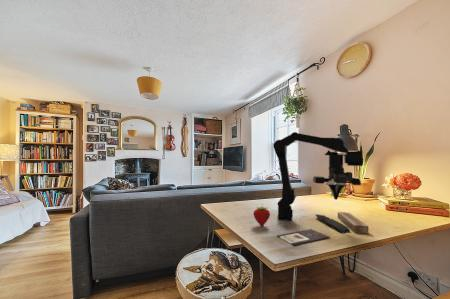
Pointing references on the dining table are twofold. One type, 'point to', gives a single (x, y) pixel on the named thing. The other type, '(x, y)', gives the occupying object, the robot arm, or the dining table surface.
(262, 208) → the strawberry
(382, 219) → the dining table surface
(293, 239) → the chocolate bar
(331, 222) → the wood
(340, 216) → the laid board
